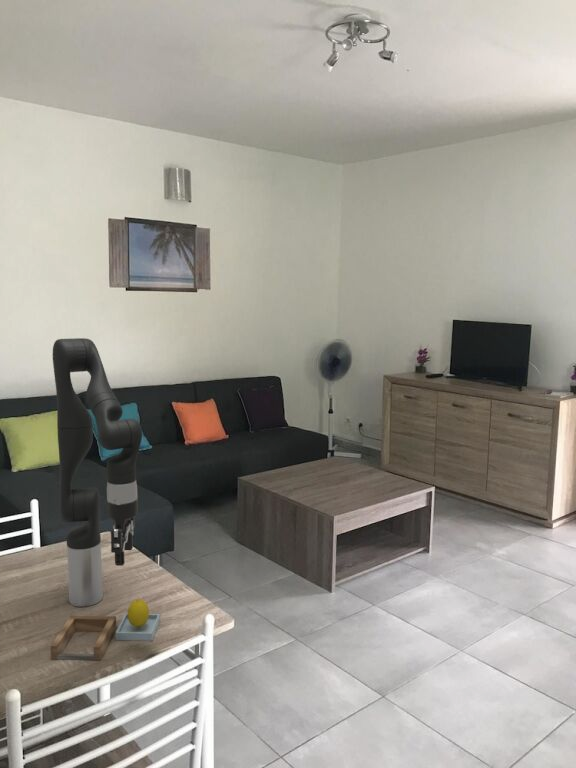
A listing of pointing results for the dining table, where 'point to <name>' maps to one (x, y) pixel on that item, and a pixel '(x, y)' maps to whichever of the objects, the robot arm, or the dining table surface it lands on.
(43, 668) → the dining table surface
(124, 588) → the dining table surface
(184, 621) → the dining table surface
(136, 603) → the lemon
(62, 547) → the dining table surface
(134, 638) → the dish
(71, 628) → the wooden letter tray
